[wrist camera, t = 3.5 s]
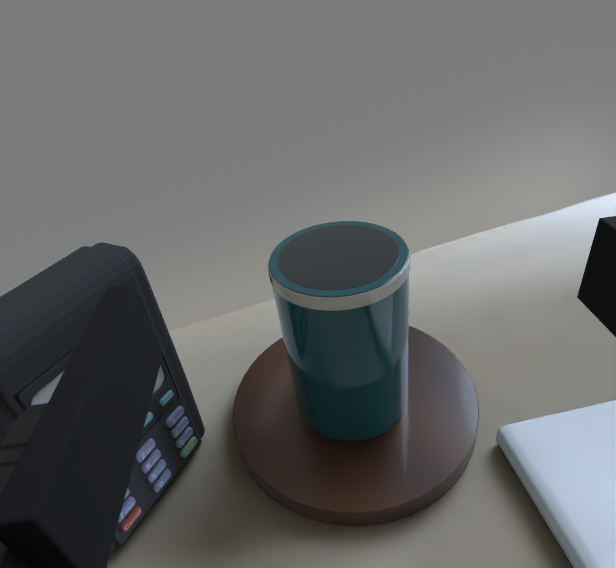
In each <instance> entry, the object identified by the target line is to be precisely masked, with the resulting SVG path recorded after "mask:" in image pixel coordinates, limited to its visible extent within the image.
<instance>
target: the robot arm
mask: <svg viewBox="0 0 616 568" xmlns="http://www.w3.org/2000/svg"><path fill="white" fill-rule="evenodd" d="M577 298H578V299H579V300H580V301H581V302H582V303H583V304H584V305H585V306H586V307H587V308H588V309H589V310H590V311H591V312H592V313H593V314H594V315H595V316H596V317H597V318H598V319H599V320H600V321H601V322H602V323H603V324H604V325H605V326H606V327H607V328H608V330H609V331H610V332H611V333H612V334H613V335H614V336H615V337H616V216H613V217H606V218H599V222H598V225H597V229H596V233H595V236H594V240H593V243H592V247H591V250H590V254H589V257H588V261H587V264H586V268H585V272H584V275H583V279H582V282H581V286H580V289H579V293H578V296H577ZM162 358H163V353H162V351H161V349H160V346H159V344H158V341H157V339H156V336H155V334H154V332H153V329H152V327H151V324H150V322H149V319H148V317H147V315H146V312H145V310H144V307H143V305H142V302H141V300H140V298H139V295H138V293H137V290H136V288H135V285H134V284H128V285H121V286H114V287H107V288H106V290H105V292H104V294H103V296H102V298H101V300H100V302H99V304H98V306H97V307H96V309H95V311H94V313H93V315H92V317H91V319H90V321H89V323H88V325H87V327H86V329H85V331H84V333H83V335H82V337H81V339H80V341H79V343H78V345H77V347H76V349H75V351H74V353H73V355H72V357H71V359H70V361H69V363H68V365H67V367H66V368H65V370H64V372H63V374H62V376H61V378H60V380H59V382H58V384H57V386H56V388H55V390H54V392H53V394H52V396H51V398H50V400H49V402H48V403H43V404H36V405H30V406H29V407H28V408H27V409H26V411H25V412H24V413H23V414H22V415H21V416H20V417H19V418H18V419H17V420H16V421H15V422H14V423H13V424H12V425H11V426H10V428H9V430H8V432H7V433H6V435H5V437H4V439H3V440H2V442H1V444H0V568H106V566H107V562H108V558H109V555H110V551H111V547H112V544H113V540H114V536H115V532H116V529H117V525H118V521H119V518H120V514H121V510H122V506H123V503H124V499H125V495H126V492H127V488H128V484H129V480H130V477H131V473H132V469H133V465H134V462H135V458H136V454H137V451H138V447H139V443H140V439H141V436H142V432H143V428H144V425H145V421H146V417H147V413H148V410H149V406H150V402H151V399H152V395H153V391H154V387H155V384H156V380H157V376H158V373H159V369H160V365H161V361H162Z"/></svg>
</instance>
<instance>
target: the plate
mask: <svg viewBox="0 0 616 568" xmlns="http://www.w3.org/2000/svg"><path fill="white" fill-rule="evenodd" d="M478 418H479V411H478V400H477V396H476V392H475V388H474V386H473V383H472V381H471V378H470V376H469V375H468V373H467V371H466V370H465V368H464V366H463V365H462V364H461V363H460V361H459V360H458V359H457V358H456V356H455V355H454V354H453V353H452V352H451V351H449V350H448V349H447V348H446V347H445V346H444V345H442V344H441V343H440V342H438V341H437V340H436V339H434V338H432V337H431V336H429V335H427V334H426V333H424V332H422V331H420V330H417V329H415V328H413V327H410V326H409V351H408V403H407V406H406V409H405V411H404V414H403V415H402V417H401V418H400V420H399V421H398V422H397V423H396V424H395V425H394V426H393V427H392V428H390V429H389V430H388V431H386V432H384V433H383V434H381V435H378V436H376V437H373V438H370V439H366V440H361V441H341V440H336V439H332V438H329V437H326V436H324V435H321V434H320V433H318V432H316V431H315V430H313V429H312V428H311V427H310V426H309V425H308V424H307V423H306V422H305V421H304V420H303V418H302V417H301V415H300V413H299V410H298V407H297V403H296V398H295V393H294V388H293V383H292V378H291V374H290V369H289V364H288V359H287V354H286V349H285V344H284V340H283V338H281V339H279V340H278V341H276V342H275V343H274V344H272V345H271V346H270V347H268V348H267V349H266V350H265V351H264V352H263V353H262V354H261V355H260V356H259V357H258V358H257V359H256V360H255V361H254V363H253V364H252V365H251V366H250V368H249V369H248V371H247V372H246V374H245V375H244V377H243V379H242V381H241V383H240V385H239V388H238V391H237V394H236V397H235V402H234V409H233V426H234V431H235V437H236V440H237V443H238V446H239V449H240V451H241V454H242V457H243V460H244V462H245V464H246V466H247V468H248V470H249V472H250V473H251V475H252V476H253V478H254V479H255V480H256V482H257V483H258V484H259V485H260V487H261V488H262V489H264V490H265V491H266V492H267V493H268V494H269V495H270V496H271V497H272V498H273V499H275V500H276V501H278V502H279V503H281V504H282V505H283V506H285V507H286V508H288V509H290V510H292V511H294V512H296V513H298V514H300V515H303V516H306V517H309V518H312V519H315V520H318V521H322V522H327V523H332V524H337V525H353V526H360V525H373V524H380V523H385V522H389V521H394V520H397V519H400V518H403V517H406V516H408V515H411V514H414V513H415V512H417V511H419V510H421V509H423V508H425V507H427V506H429V505H430V504H432V503H433V502H434V501H436V500H437V499H438V498H440V497H441V496H442V495H444V494H445V493H446V492H447V491H448V490H449V489H450V488H451V487H452V486H453V485H454V484H455V482H456V481H457V480H458V478H459V477H460V476H461V474H462V473H463V471H464V470H465V468H466V466H467V464H468V462H469V460H470V458H471V455H472V452H473V448H474V445H475V441H476V434H477V427H478Z"/></svg>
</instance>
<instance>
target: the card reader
mask: <svg viewBox="0 0 616 568" xmlns="http://www.w3.org/2000/svg"><path fill="white" fill-rule="evenodd" d="M128 284H134V285H135V288H136V290H137V293H138V295H139V298H140V300H141V302H142V305H143V307H144V310H145V312H146V315H147V317H148V319H149V322H150V324H151V327H152V329H153V332H154V334H155V336H156V339H157V341H158V344H159V346H160V349H161V351H162V353H163V358H162V361H161V365H160V369H159V373H158V376H157V380H156V384H155V387H154V391H153V395H152V399H151V402H150V406H149V410H148V413H147V417H146V421H145V425H144V428H143V432H142V436H141V439H140V443H139V447H138V451H137V454H136V458H135V462H134V465H133V469H132V473H131V477H130V480H129V484H128V488H127V492H126V495H125V499H124V503H123V506H122V510H121V514H120V518H119V521H118V525H117V529H116V532H115V536H114V540H113V544H112V547H111V550H112V549H113V548H114V547H115V545H117V546H121V545H122V544H123V543H124V541H125V540H126V539H127V538H128V536H129V535H130V534H131V532H132V531H133V530H134V529H135V527H136V526H137V525H138V524H139V522H140V521H141V520H142V518H143V517H144V516H145V515H146V513H147V512H148V511H149V510H150V508H151V507H152V506H153V504H154V503H155V502H156V501H157V499H158V498H159V497H160V496H161V494H162V493H163V492H164V490H165V489H166V488H167V487H168V485H169V484H170V483H171V482H172V480H173V479H174V478H175V477H176V475H177V474H178V473H179V471H180V470H181V469H182V468H183V466H184V465H185V464H186V463H187V461H188V460H189V459H190V457H191V456H192V455H193V454H194V452H195V451H196V450H197V449H198V447H199V446H200V444H201V437H202V436H203V434H204V431H205V429H204V425H203V422H202V420H201V417H200V414H199V411H198V408H197V406H196V403H195V400H194V397H193V395H192V392H191V389H190V386H189V383H188V381H187V378H186V375H185V373H184V370H183V368H182V365H181V363H180V360H179V358H178V355H177V352H176V350H175V347H174V345H173V342H172V340H171V337H170V335H169V332H168V330H167V327H166V324H165V322H164V319H163V317H162V314H161V312H160V309H159V307H158V304H157V301H156V299H155V296H154V294H153V292H152V289H151V286H150V284H149V281H148V279H147V276H146V274H145V271H144V269H143V267H142V265H141V263H140V261H139V260H138V258H137V257H136V256H135V255H134V254H133V253H132V252H131V251H130V250H129V249H128V248H126V247H121V246H117V245H112V244H107V243H98V244H95V245H94V246H92V247H87V246H86V247H81V248H79V249H78V250H76V251H74V252H73V253H71V254H70V255H68V256H66V257H65V258H63V259H61V260H60V261H58V262H57V263H55V264H53V265H52V266H50V267H48V268H47V269H45V270H44V271H42V272H40V273H39V274H37V275H36V276H34V277H32V278H31V279H29V280H27V281H26V282H24V283H22V284H21V285H19V286H18V287H16V288H14V289H13V290H11V291H9V292H8V293H6V294H5V295H3V296H1V297H0V444H1V442H2V440H3V439H4V437H5V435H6V433H7V432H8V430H9V428H10V426H11V425H12V424H13V423H14V422H15V421H16V420H17V419H18V418H19V417H20V416H21V415H22V414H23V413H24V412H25V411H26V409H27V408H28V407H29V406H30V405H36V404H43V403H48V402H49V400H50V398H51V396H52V394H53V392H54V390H55V388H56V386H57V384H58V382H59V380H60V378H61V376H62V374H63V372H64V370H65V368H66V367H67V365H68V363H69V361H70V359H71V357H72V355H73V353H74V351H75V349H76V347H77V345H78V343H79V341H80V339H81V337H82V335H83V333H84V331H85V329H86V327H87V325H88V323H89V321H90V319H91V317H92V315H93V313H94V311H95V309H96V307H97V306H98V304H99V302H100V300H101V298H102V296H103V294H104V292H105V290H106V288H107V287H114V286H121V285H128ZM110 552H111V551H110Z"/></svg>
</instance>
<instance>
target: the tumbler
mask: <svg viewBox="0 0 616 568" xmlns="http://www.w3.org/2000/svg"><path fill="white" fill-rule="evenodd" d="M268 271H269V276H270V281H271V284H272V286H273V291H274V296H275V301H276V306H277V310H278V315H279V320H280V325H281V330H282V335H283V340H284V344H285V349H286V354H287V359H288V364H289V369H290V374H291V378H292V383H293V388H294V393H295V398H296V403H297V407H298V410H299V413H300V415H301V417H302V418H303V420H304V421H305V422H306V423H307V424H308V425H309V426H310V427H311V428H312V429H313V430H315V431H316V432H318V433H320V434H321V435H324V436H326V437H329V438H332V439H336V440H341V441H361V440H366V439H370V438H373V437H376V436H378V435H381V434H383V433H384V432H386V431H388V430H389V429H390V428H392V427H393V426H394V425H395V424H396V423H397V422H398V421H399V420H400V418H401V417H402V415H403V414H404V411H405V409H406V406H407V403H408V351H409V272H410V250H409V247H408V245H407V244H406V242H405V241H404V240H403V239H402V238H401V237H400V236H399V235H398V234H396V233H395V232H393V231H391V230H390V229H387V228H385V227H382V226H379V225H376V224H371V223H366V222H356V221H342V222H331V223H325V224H320V225H316V226H312V227H309V228H306V229H303V230H301V231H298V232H296V233H294V234H292V235H291V236H289V237H287V238H286V239H285V240H283V241H282V242H281V243H280V244H279V245H278V246H277V247H276V248H275V249H274V250H273V252H272V253H271V255H270V258H269V261H268Z"/></svg>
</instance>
